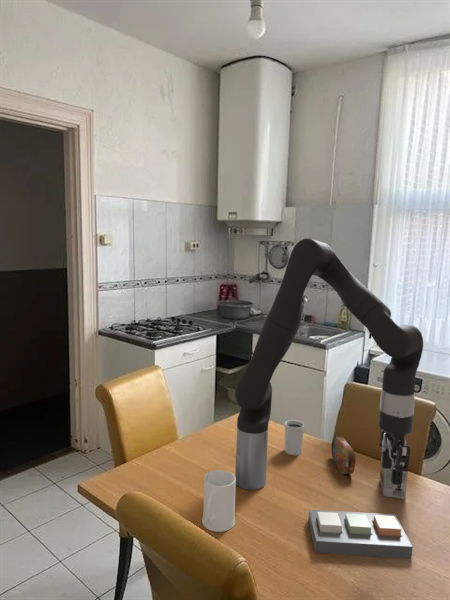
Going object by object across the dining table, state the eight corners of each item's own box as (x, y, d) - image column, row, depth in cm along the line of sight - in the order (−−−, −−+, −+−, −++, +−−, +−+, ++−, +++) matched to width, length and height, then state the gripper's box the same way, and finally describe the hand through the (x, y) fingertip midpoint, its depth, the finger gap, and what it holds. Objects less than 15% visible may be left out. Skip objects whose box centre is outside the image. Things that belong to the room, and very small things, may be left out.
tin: (330, 455, 149) (331, 432, 148) (339, 455, 149) (340, 432, 148) (346, 479, 134) (347, 453, 133) (355, 479, 134) (357, 453, 133)
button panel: (315, 552, 102) (316, 540, 101) (308, 520, 114) (309, 509, 113) (411, 558, 101) (412, 546, 100) (394, 525, 112) (395, 514, 112)
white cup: (304, 456, 148) (305, 428, 146) (284, 455, 148) (286, 427, 147) (301, 447, 154) (302, 420, 153) (282, 446, 154) (283, 419, 153)
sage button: (349, 538, 104) (350, 526, 104) (344, 525, 109) (345, 513, 109) (370, 539, 104) (371, 527, 104) (364, 526, 109) (365, 514, 109)
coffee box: (378, 479, 134) (382, 430, 132) (400, 482, 133) (404, 432, 131) (383, 496, 125) (387, 443, 123) (406, 499, 124) (411, 446, 122)
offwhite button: (320, 536, 105) (320, 524, 104) (316, 523, 110) (317, 511, 109) (341, 537, 105) (341, 525, 104) (336, 524, 110) (337, 512, 109)
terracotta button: (378, 540, 104) (379, 527, 104) (372, 526, 109) (373, 514, 109) (400, 541, 104) (401, 529, 104) (393, 527, 109) (394, 516, 108)
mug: (219, 544, 104) (220, 497, 102) (189, 532, 107) (189, 487, 106) (240, 517, 114) (242, 474, 112) (212, 507, 118) (213, 466, 116)
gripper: (371, 398, 110) (367, 460, 112) (390, 421, 95) (384, 491, 98) (401, 399, 109) (396, 461, 112) (425, 422, 95) (418, 493, 97)
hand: (391, 475), depth 105 cm, fingers open, 6 cm apart
